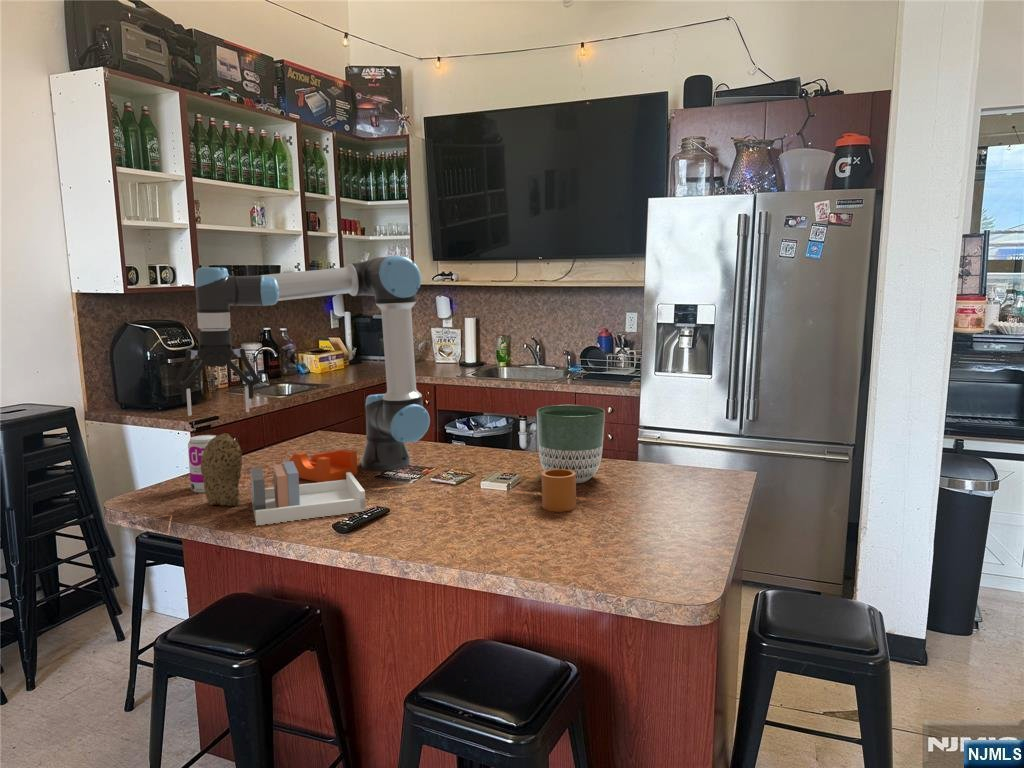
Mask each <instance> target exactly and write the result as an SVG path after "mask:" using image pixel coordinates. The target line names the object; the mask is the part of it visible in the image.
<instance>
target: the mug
mask: <svg viewBox="0 0 1024 768" xmlns="http://www.w3.org/2000/svg"><path fill="white" fill-rule="evenodd" d="M541 506H542V507H541V508H542V509H544V510H545V511H549V512H555V513H556V512H559V513H560V512H562V513H563V512H569V511H574V510H575V509H576V507H577V484H576V473H575V472H574V471H572V470H567V469H551V470H546V471H544V470H543V471H542V472H541Z"/></svg>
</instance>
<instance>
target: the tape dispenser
mask: <svg viewBox="0 0 1024 768" xmlns="http://www.w3.org/2000/svg"><path fill="white" fill-rule="evenodd" d="M357 451H358V450H352V449H349V448H345V449H339V450H332V451H327V452H322V453H321V452H320V453H316V454H312V455H310V459H309V458H308V453H306V452H302V451H301V452H296V453H293V454H292V456H291V457H290V458H289V459H288V461H293V462H294V464H295V467H296V469H297V471H298V473H299V479H303V480H308V481H311V482H315V483H319V482H328V481H337V480H345V479H346V472H351V473H352V475H353V476H356V475H358V455H357V454H358V452H357Z"/></svg>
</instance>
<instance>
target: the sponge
mask: <svg viewBox="0 0 1024 768" xmlns="http://www.w3.org/2000/svg"><path fill="white" fill-rule="evenodd" d="M242 456H243V451H242V449H241V446H240V444H239V442H238V441H237V440H235V439H234V438H233V437H232V436H231V435H230V434H229V433H227V432H224V433H221V434H218V435H216V437H214V438H213V439H211V440H210V441H209V442H208V444H207V446H206V447H205V450H204V453H203V455H202V457H201V461H202V462H201V473H202V476H203V480H204V489H205V492H204V493H205V494H204V495H205V496H206V499H207V501H208V504H209V505H210V506H215V505H217V506H218V505H220V506H222V507H223V506H228V507H232V506H233V507H235V506H237V505H239V504H240V502H241V499H240V498H239V495H240V490H239V486H240V485H239V482H240V479H241V477H242V474H241V473H242V467H243V466H242V465H243V462H242V461H243V459H242Z"/></svg>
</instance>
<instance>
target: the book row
mask: <svg viewBox="0 0 1024 768" xmlns="http://www.w3.org/2000/svg"><path fill="white" fill-rule="evenodd" d="M272 469H273V487H274V494H275V503H276V506H277V508H279V507H287V506H296V505H300V496H299V485H300V481H299V480H300V478H299V473H298V471H297V469H296V467H295V464H294V462H293V461H289V460H288V461H283V462H282V463H281V464H273V465H272Z"/></svg>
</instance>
